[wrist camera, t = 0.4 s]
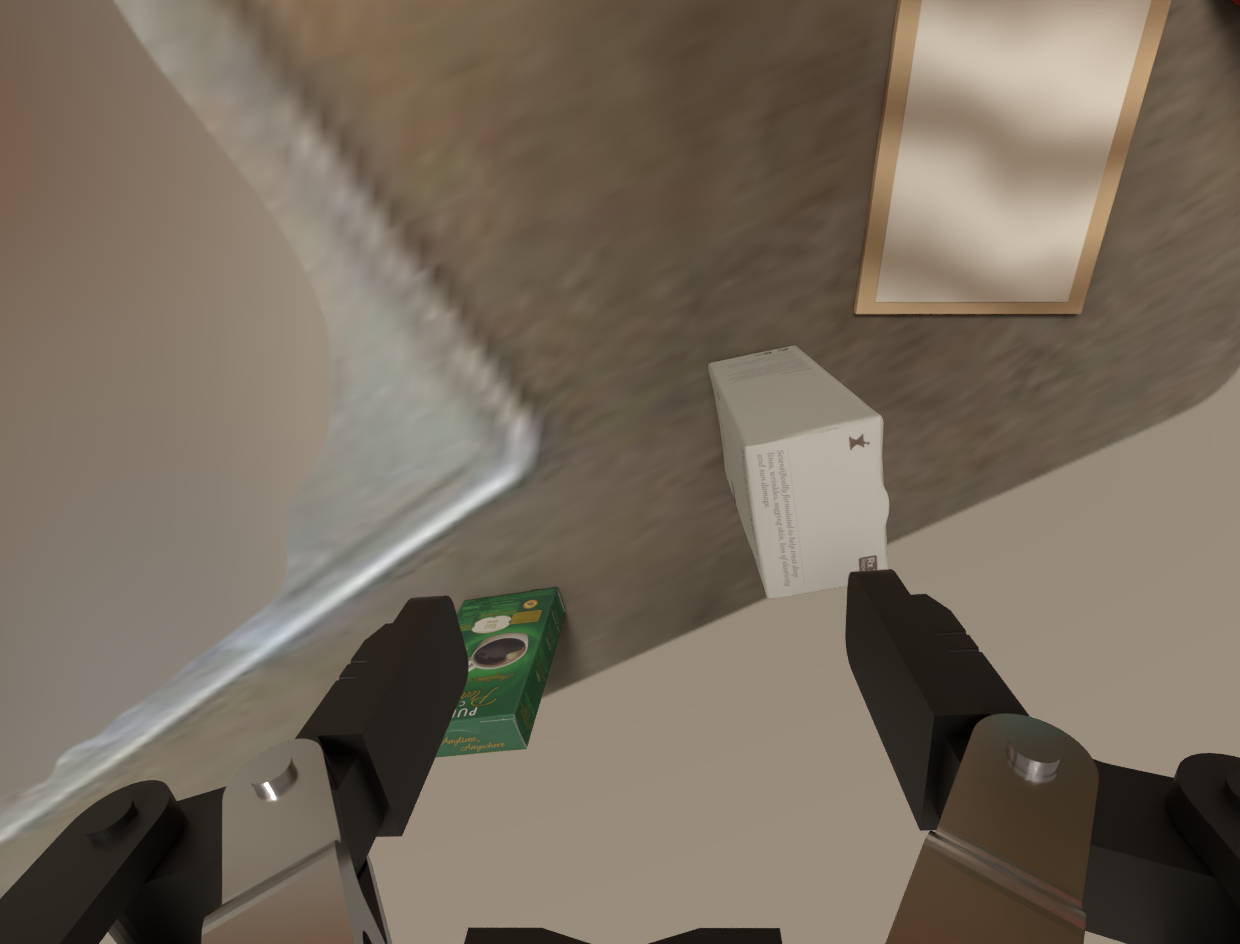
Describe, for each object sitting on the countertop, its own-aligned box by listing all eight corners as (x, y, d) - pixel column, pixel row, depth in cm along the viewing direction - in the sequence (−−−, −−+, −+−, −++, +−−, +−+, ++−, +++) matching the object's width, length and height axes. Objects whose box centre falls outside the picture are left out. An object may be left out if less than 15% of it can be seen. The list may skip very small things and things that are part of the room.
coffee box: (471, 628, 47) (404, 766, 34) (460, 598, 46) (387, 731, 33) (567, 614, 45) (532, 753, 33) (557, 583, 44) (518, 715, 32)
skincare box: (706, 361, 37) (732, 436, 23) (801, 341, 36) (887, 407, 23) (726, 478, 40) (760, 606, 26) (814, 463, 39) (897, 586, 26)
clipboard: (910, -88, 28) (923, -105, 27) (1193, -101, 27) (1221, -119, 26) (853, 313, 35) (861, 316, 34) (1075, 312, 34) (1092, 316, 33)
